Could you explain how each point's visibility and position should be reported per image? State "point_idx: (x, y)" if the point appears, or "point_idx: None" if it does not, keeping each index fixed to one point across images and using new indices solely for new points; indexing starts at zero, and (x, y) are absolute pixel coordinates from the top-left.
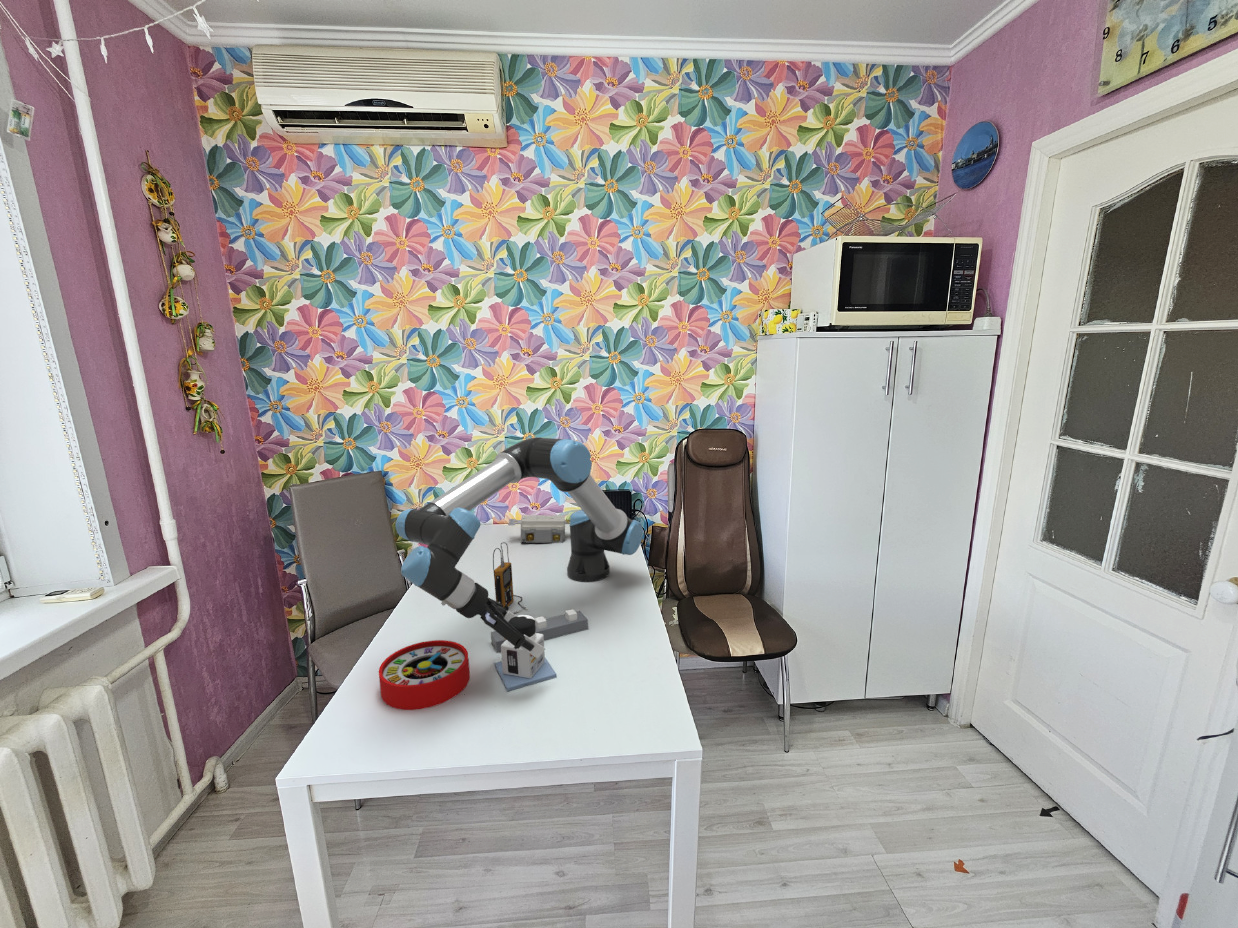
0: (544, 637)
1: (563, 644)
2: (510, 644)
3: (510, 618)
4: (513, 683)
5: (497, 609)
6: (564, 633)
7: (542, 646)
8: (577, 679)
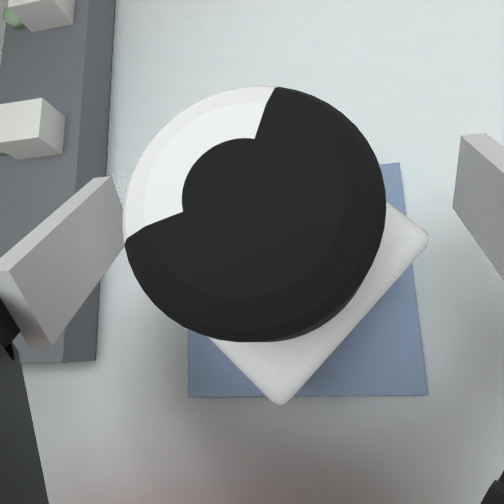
0: (100, 149)
1: (173, 95)
2: (313, 342)
3: (56, 275)
4: (398, 356)
5: (2, 439)
6: (107, 74)
7: (469, 142)
8: (449, 97)
